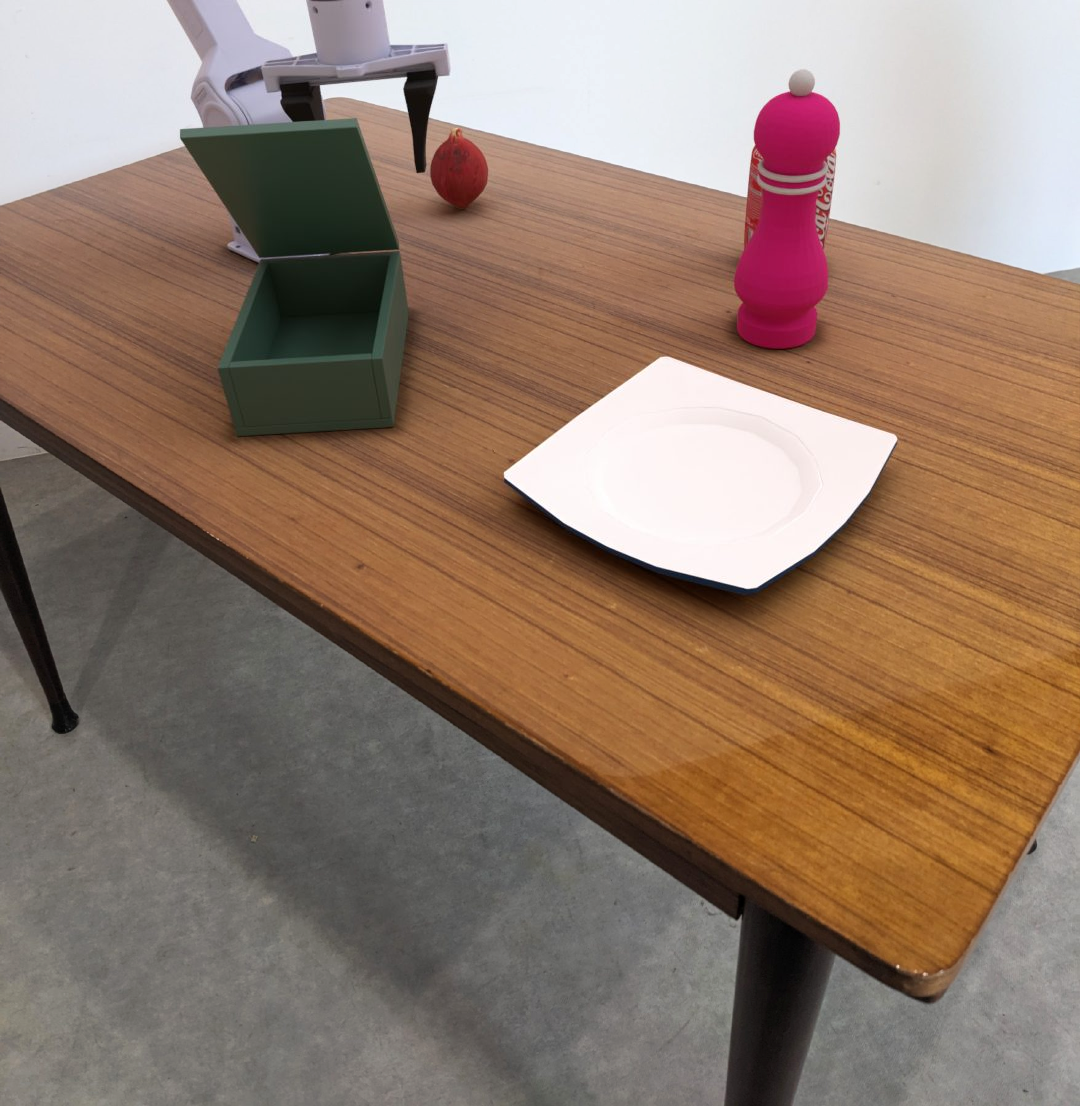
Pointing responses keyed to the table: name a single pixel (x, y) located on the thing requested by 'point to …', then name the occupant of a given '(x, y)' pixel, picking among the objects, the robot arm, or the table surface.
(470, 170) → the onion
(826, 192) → the soda can
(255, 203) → the lid
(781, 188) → the pepper mill
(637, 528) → the plate
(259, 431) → the chest
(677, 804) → the table surface
